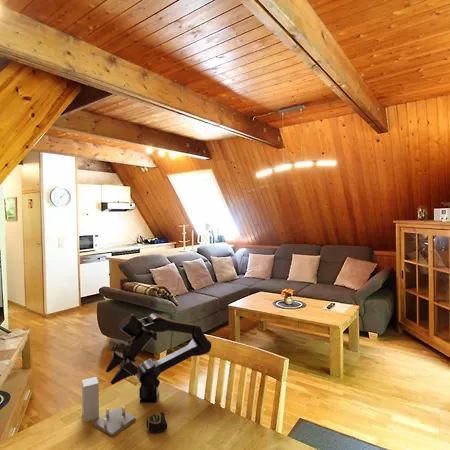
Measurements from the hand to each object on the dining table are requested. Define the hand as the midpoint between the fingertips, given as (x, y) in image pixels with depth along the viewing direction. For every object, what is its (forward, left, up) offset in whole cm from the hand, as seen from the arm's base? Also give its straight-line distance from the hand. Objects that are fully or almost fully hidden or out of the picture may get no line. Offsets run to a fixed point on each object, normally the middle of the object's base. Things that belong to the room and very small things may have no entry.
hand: (108, 377), depth 120 cm
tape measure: (-20, +9, -13) cm, 26 cm away
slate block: (+6, +3, -13) cm, 14 cm away
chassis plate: (-4, +7, -13) cm, 15 cm away
